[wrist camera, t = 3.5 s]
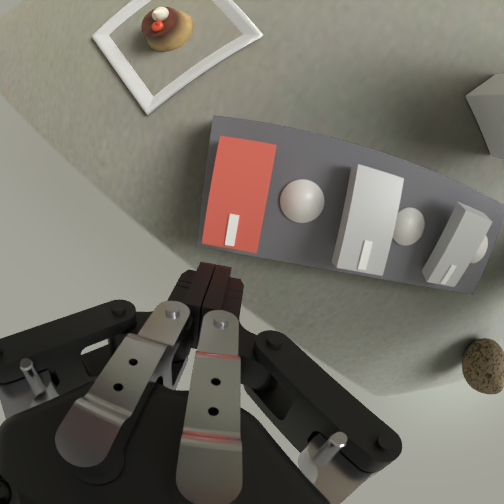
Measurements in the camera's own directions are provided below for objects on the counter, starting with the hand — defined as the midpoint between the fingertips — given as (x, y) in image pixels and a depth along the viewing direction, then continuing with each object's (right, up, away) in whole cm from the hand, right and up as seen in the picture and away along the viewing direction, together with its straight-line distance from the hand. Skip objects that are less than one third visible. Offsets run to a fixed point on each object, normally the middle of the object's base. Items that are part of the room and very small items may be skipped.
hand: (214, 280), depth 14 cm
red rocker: (+1, +5, +5) cm, 7 cm away
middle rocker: (+10, +4, +5) cm, 12 cm away
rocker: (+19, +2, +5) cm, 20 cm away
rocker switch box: (+12, +5, +10) cm, 17 cm away
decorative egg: (+35, -13, +17) cm, 41 cm away
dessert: (-5, +21, +5) cm, 22 cm away
